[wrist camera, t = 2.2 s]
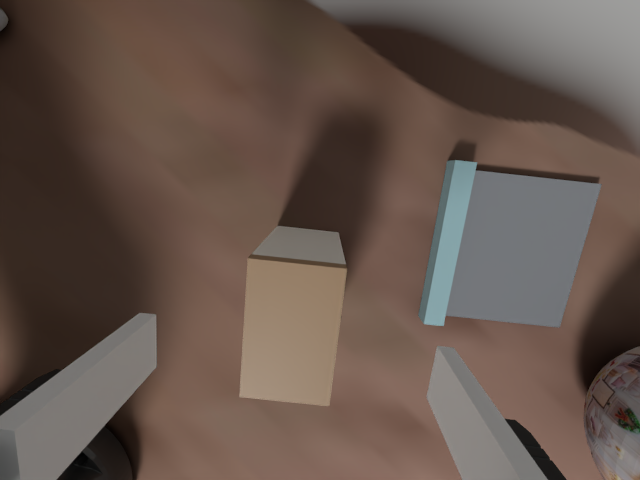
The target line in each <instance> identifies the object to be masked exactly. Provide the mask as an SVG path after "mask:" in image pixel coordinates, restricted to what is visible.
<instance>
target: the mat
mask: <svg viewBox="0 0 640 480" xmlns="http://www.w3.org/2000/svg"><path fill="white" fill-rule="evenodd" d="M601 185H602V184H595V183H586V182H577V181H568V180H559V179H550V178H541V177H532V176H523V175H513V174H504V173H495V172H486V171H477V170H476V171H475V176H474V180H473V185H472V190H471V195H470V200H469V205H468V209H467V214H466V219H465V224H464V229H463V233H462V238H461V243H460V248H459V253H458V258H457V262H456V267H455V272H454V277H453V282H452V287H451V291H450V296H449V301H448V306H447V311H446V316H455V317H465V318H474V319H483V320H493V321H502V322H512V323H521V324H531V325H540V326H550V327H559V328H560V324H561V321H562V317H563V314H564V311H565V307H566V304H567V300H568V297H569V294H570V290H571V287H572V283H573V280H574V277H575V273H576V270H577V266H578V263H579V260H580V256H581V253H582V249H583V246H584V242H585V239H586V236H587V232H588V229H589V225H590V222H591V219H592V215H593V212H594V208H595V205H596V202H597V198H598V195H599V191H600V188H601Z"/></svg>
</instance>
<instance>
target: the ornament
mask: <svg viewBox="0 0 640 480" xmlns="http://www.w3.org/2000/svg"><path fill="white" fill-rule="evenodd" d="M584 427H585V434H586V438H587V443H588V446H589V449H590V452H591V454H592V457H593V459H594V462H595V464H596V466H597V468H598V470H599V472H600V474H601V476H602V477H603V479H604V480H640V346H639V347H636V348H633V349H631V350H629V351H627V352H625V353H623V354H621V355H619V356H617V357H616V358H614V359H613V360H611V361H610V362H609V363H608V364H607V365H605V366H604V367H603V368H602V369H601V370H600V372H599V373H598V374H597V376H596V377H595V378H594V380H593V382H592V384H591V386H590V388H589V390H588V392H587V396H586V399H585V407H584Z"/></svg>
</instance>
